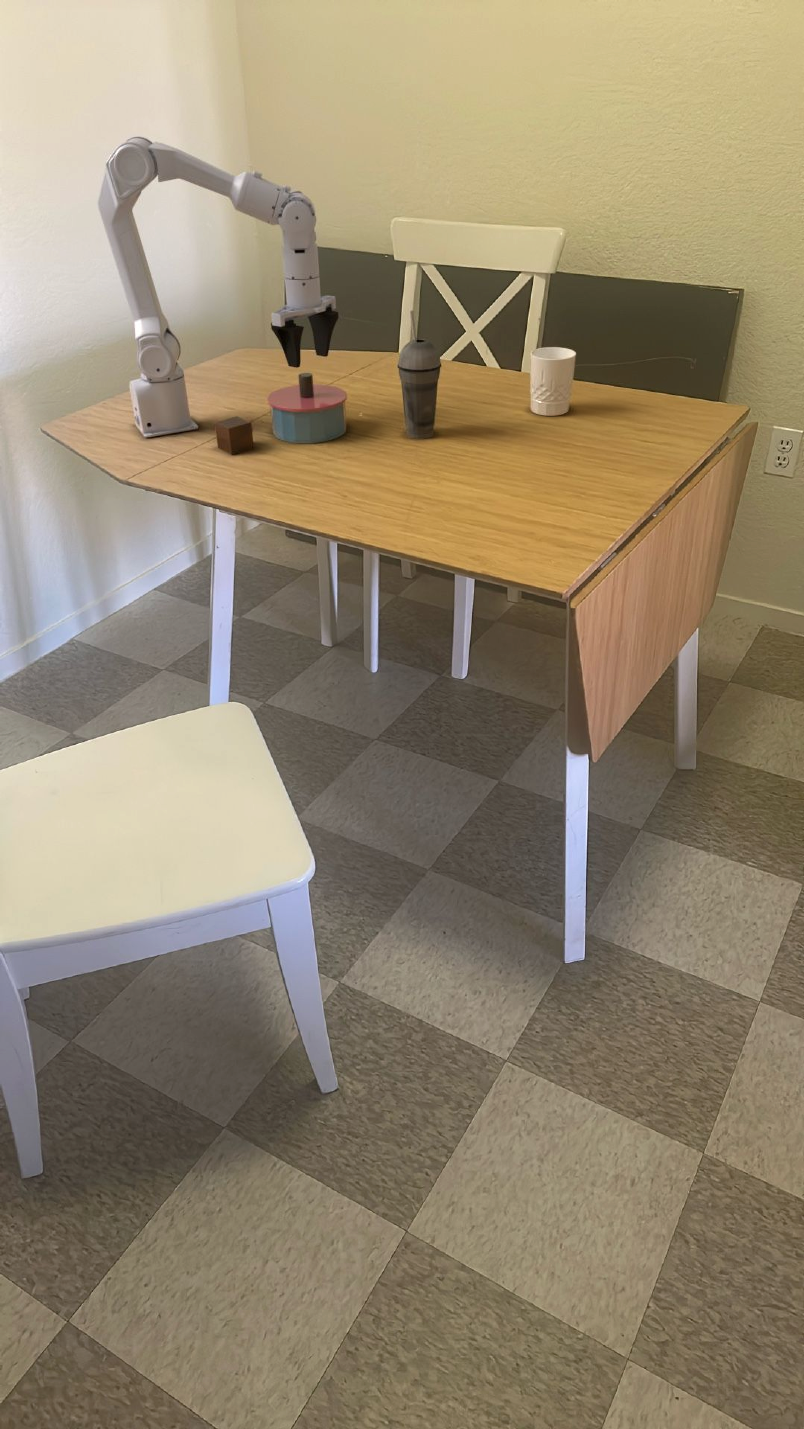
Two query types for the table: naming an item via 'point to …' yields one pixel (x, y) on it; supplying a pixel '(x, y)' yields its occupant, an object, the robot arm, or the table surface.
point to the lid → (307, 396)
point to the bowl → (309, 424)
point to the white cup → (551, 380)
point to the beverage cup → (419, 385)
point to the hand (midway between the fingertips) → (308, 361)
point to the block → (234, 435)
